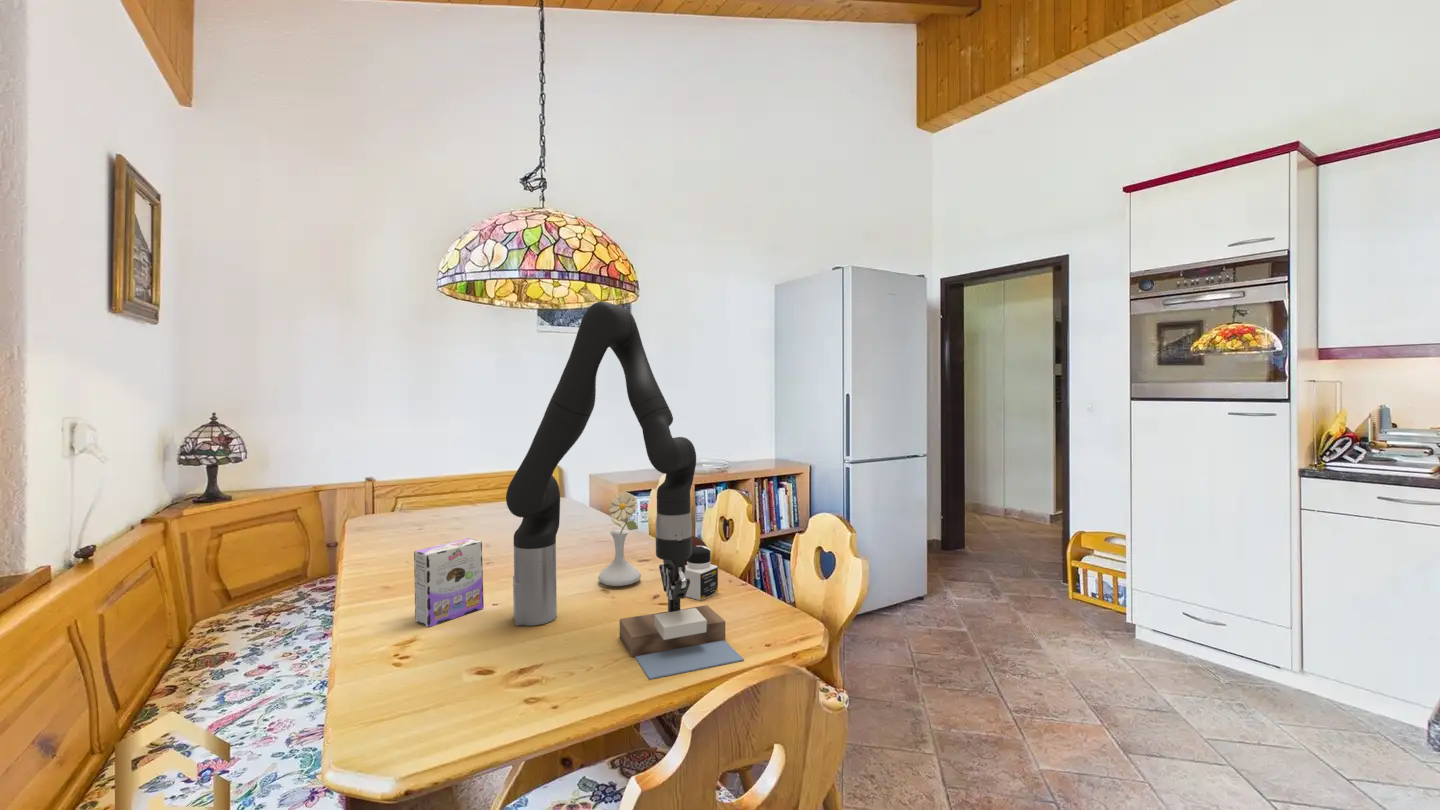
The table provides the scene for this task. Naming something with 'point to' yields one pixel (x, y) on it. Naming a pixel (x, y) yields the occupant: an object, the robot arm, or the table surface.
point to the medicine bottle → (701, 574)
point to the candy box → (448, 581)
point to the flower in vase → (621, 543)
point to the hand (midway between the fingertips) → (674, 615)
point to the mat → (687, 659)
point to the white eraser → (680, 623)
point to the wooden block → (647, 639)
